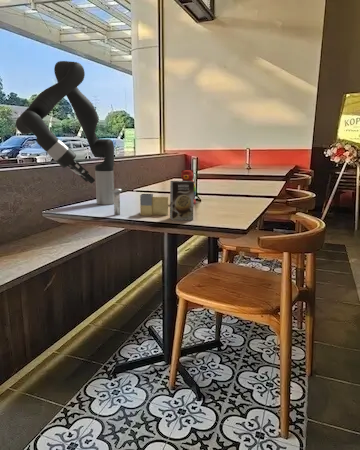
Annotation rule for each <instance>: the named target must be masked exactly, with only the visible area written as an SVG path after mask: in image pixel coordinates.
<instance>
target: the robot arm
mask: <svg viewBox="0 0 360 450" xmlns="http://www.w3.org/2000/svg"><path fill="white" fill-rule="evenodd" d="M85 74H86V73H85V69H84V66H83V65H82V64H81V63H79V62H77V61H67V60H60V61H57V62H56V63H55V64H54V76H55V79H56V81H57V82H56V83H55V84H53V85H51V86H49V87H48V88H45V89H44V90H42V91H41V92H39V94H38V95H37V96H36V97H35V99H34V100H33V101H32V102H31V104H30V105H29V106H28V107H27V108H26V109H25V110H24V111H23V112H22V113H21V114H20V115H19V116H18V117H17V118H16V120H15V127H16V129H17V131H18V132H20V133H21V134H23V135H28V134H29V135H30V134H31V133H32V134H33V135H34V136H35V137H36V140H35V141H36V144H38V145H39V146H40V148H42V150H44V151H45V152H46V153H47V155H49V156H50V158H51V159H53V160H54V161H55V162H56V164H58V165H59V166H60V167H62V168H64V169H65V168H67V167H69V170H70V171H72V172H73V173H75V175H77V176H78V177H80V178H81V179H82V180H83V181H85V182H87V183H88V182H89V183H90V184H93V183H94V182H95V191H96V192H95V193H96V194H95V195H96V196H95V197H96V199H95V200H96V204H97V205H107V206H108V205H114V192H111V189H115V183H114V182H115V181H114V178H115V177H114V166H115V146H114V145H115V144H114V142H113V140H112V139H110V138H109V139H107V138H98V137H97V134H96V129H97V127H98V123H99V116H98V114H97V111H96V108H95V106H94V105H93V103H92V101H90V99H89V98H87V96H85V94H83V93H82V92H81V90H79V88H78V87H79V86H80V85H81V83H83V81H84V79H85ZM65 97H67V101H69V103H70V105H71V107H72V109H73V111H74V114H75V116H76V119H77V120H78V123H79V124H80V126H81V128H82V132H83V133H84V135H85V138H86V140H87V144H88V147H89V148H90V149H89V150H90V152H91V153H92V155H93V157H95V158H103V161H101V162H100V163H99V164H96V165H95V166H94V167H95V168H94V169H95V174H94V175H95V178H94V177H93V176H92V175H91V174H90V173H89V170H87V169H86V168H85V167H84V166H83V165H82V164H81V163H80V161H79V162H78V161H75V159H76V157H77V155H76V153H75V152H74V151H72V149H70V147H69V146H68V145H67V144H65V143H64V142H63V140H61V139H59V138H58V137H57V136H56V135H55V134H54V133H52V131H51V130H50V129H49V126H47V124H46V122H45V121H44V120H43V119H45V118H46V117H47V116H48V115H49V114H50V113H51V111H52V110H53V109H54V108H55V107H56V106H57V104H58V103H59V102H61V100H62V99H64V98H65Z"/></svg>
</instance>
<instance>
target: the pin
mask: <svg viewBox="0 0 360 450" xmlns="http://www.w3.org/2000/svg"><path fill="white" fill-rule="evenodd" d="M111 192H114V204H113V213H114V214H113V216H120V215H121V195H120V194H121V193H122V192H123V189H122V188H114V189H111Z"/></svg>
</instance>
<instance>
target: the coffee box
mask: <svg viewBox="0 0 360 450" xmlns="http://www.w3.org/2000/svg"><path fill="white" fill-rule="evenodd" d="M193 181H194V180H193ZM193 181H182V180H170V192H169V193H170V194H169V195H170V198H169V219H170V220H171V221H174V222H175V221H193V220H194V205H195V204H194V183H195V181H194V182H193Z"/></svg>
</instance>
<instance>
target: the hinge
mask: <svg viewBox="0 0 360 450" xmlns="http://www.w3.org/2000/svg"><path fill="white" fill-rule="evenodd" d="M139 197H140V200H139V201H140V204H139V206H140V216H145V217H147V216H148V217H149V216H150V217H151V216H153V215H154V216H168V215H169V197H168V196H154V194H153V193H141V194H140V195H139Z"/></svg>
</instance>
